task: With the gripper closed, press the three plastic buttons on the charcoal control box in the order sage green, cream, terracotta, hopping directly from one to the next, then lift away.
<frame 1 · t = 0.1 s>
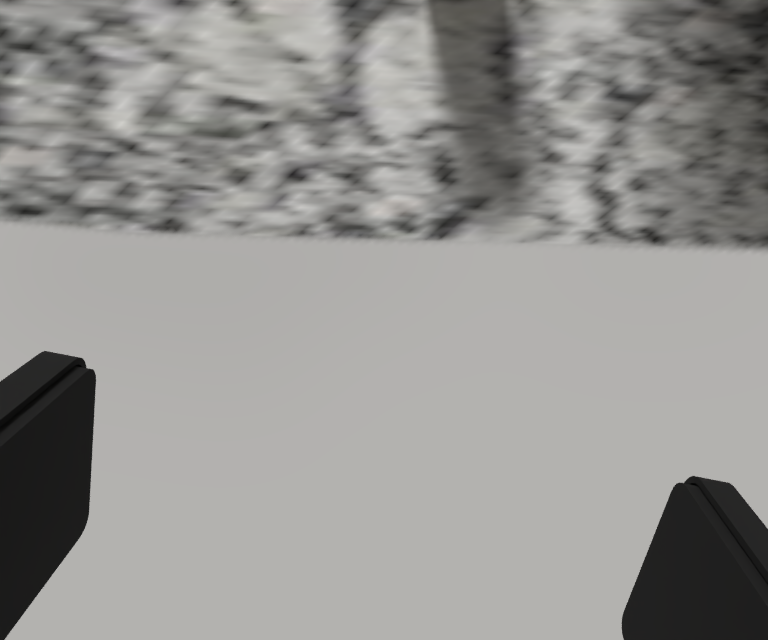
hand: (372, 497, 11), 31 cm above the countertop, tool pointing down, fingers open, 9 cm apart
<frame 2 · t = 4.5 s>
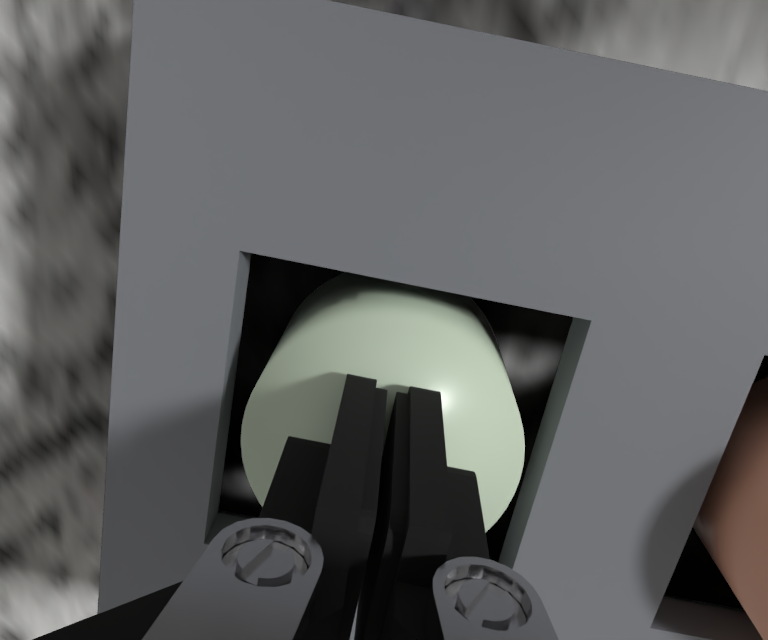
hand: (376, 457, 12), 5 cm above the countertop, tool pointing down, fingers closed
button box: (737, 409, 17), on the countertop
sage button: (385, 407, 13), point 4 cm above the countertop, slide at 1.1 cm
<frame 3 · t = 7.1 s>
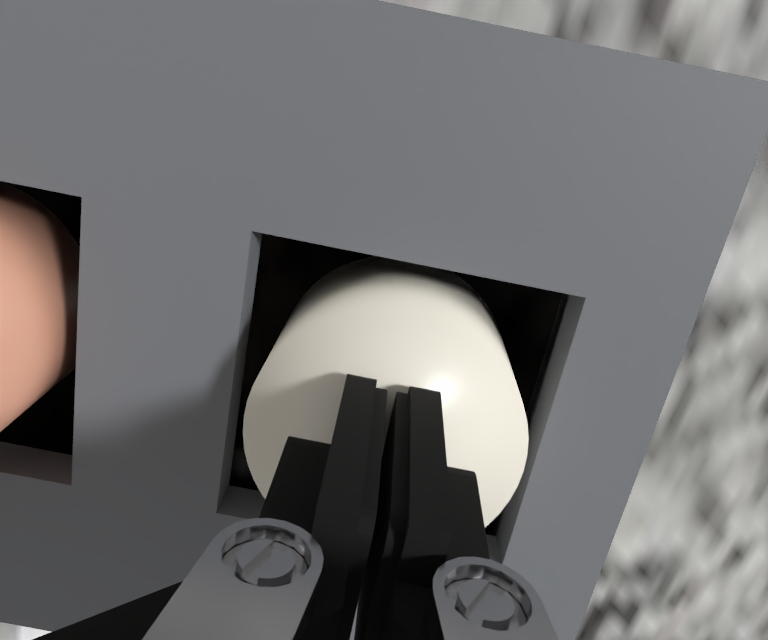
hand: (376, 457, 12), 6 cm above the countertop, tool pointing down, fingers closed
button box: (53, 256, 17), on the countertop
cream button: (388, 398, 13), point 4 cm above the countertop, slide at 0.4 cm, touching gripper
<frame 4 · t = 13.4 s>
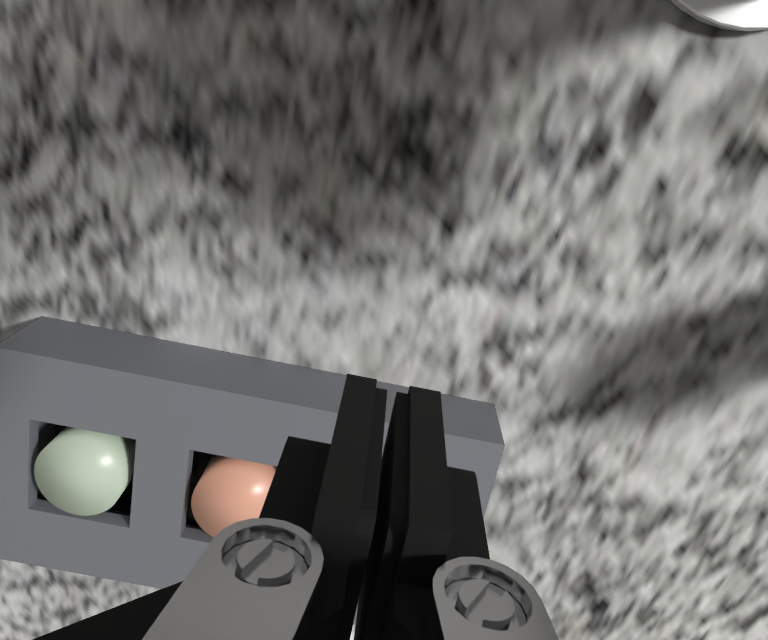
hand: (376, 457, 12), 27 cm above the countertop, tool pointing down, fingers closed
button box: (255, 458, 43), on the countertop
sage button: (91, 461, 40), point 4 cm above the countertop, slide at 1.2 cm
terracotta button: (242, 490, 40), point 4 cm above the countertop, slide at 1.2 cm
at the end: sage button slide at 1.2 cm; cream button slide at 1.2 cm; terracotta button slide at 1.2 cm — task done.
